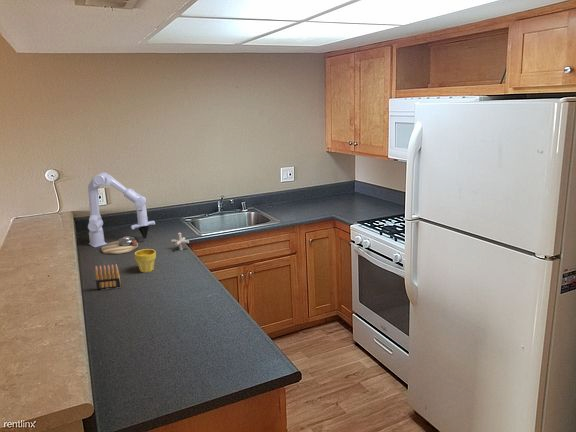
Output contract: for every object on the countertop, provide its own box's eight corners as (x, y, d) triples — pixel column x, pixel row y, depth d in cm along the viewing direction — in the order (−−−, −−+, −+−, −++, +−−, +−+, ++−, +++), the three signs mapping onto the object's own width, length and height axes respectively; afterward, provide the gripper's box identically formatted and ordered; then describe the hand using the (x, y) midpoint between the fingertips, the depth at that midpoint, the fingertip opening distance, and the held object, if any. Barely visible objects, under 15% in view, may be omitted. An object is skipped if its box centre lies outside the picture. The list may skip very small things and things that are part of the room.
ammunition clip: (121, 286, 214) (118, 262, 211) (120, 288, 212) (117, 264, 209) (97, 288, 212) (94, 265, 209) (96, 290, 210) (93, 266, 207)
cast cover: (116, 244, 268) (115, 237, 267) (131, 240, 274) (130, 234, 272) (123, 247, 261) (122, 241, 260) (137, 243, 267) (136, 237, 266)
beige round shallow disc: (96, 248, 265) (95, 241, 264) (128, 240, 279) (128, 233, 277) (110, 256, 251) (109, 249, 250) (143, 247, 264) (143, 240, 263)
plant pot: (161, 267, 235) (159, 250, 232) (148, 275, 226) (145, 256, 223) (146, 265, 239) (144, 247, 237) (132, 272, 230) (129, 254, 228)
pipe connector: (185, 253, 255) (184, 236, 253) (169, 252, 257) (167, 235, 254) (192, 247, 265) (191, 230, 262) (176, 246, 267) (175, 230, 264)
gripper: (133, 220, 263) (136, 242, 267) (156, 215, 273) (158, 236, 276) (128, 217, 268) (131, 239, 272) (151, 213, 278) (153, 234, 281)
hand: (144, 238), depth 275 cm, fingers closed
